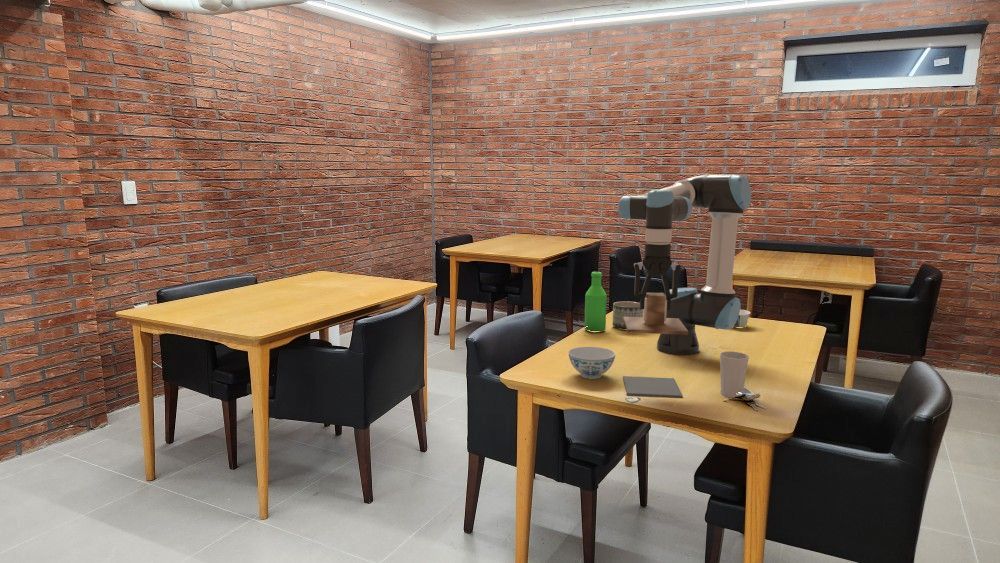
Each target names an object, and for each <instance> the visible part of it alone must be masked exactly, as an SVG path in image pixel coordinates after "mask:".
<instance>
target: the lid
mask: <svg viewBox="0 0 1000 563" xmlns="http://www.w3.org/2000/svg"><path fill="white" fill-rule="evenodd" d="M645 298H647V318H646V321H644V320H643V317H623V320H624V323H625V326H626V329H627V330H626V331H627V333H628V334H656V335H660V334H680V335H688V330H687V329H686V328H685V326H684V325H683V324H682V322H681V321H680V320H679V318H666V321H664V313H665V293H664V292H647V293H646V296H645Z"/></svg>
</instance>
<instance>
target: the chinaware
mask: <svg viewBox="0 0 1000 563" xmlns="http://www.w3.org/2000/svg"><path fill="white" fill-rule="evenodd" d="M615 357H616V352H615V351H614V350H611V349H608V348H605V347H601V346H600V347H599V346H578V347H574V348H571V349H569V350H568V358H569V362H570V364H571V365H572V367H573V368H574V369H575V370H576V371H577V372H578V373H580V376H581V377H582V378H584V379H587V378H588V380H596V379H597V378H598V379H600V378H602V376H603V374H605V373H606V372H608V371H609V370H610V369H611V367H612V365H613V364H614V361H615V359H616V358H615ZM598 379H597V380H598Z"/></svg>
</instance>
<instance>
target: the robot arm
mask: <svg viewBox="0 0 1000 563" xmlns="http://www.w3.org/2000/svg"><path fill="white" fill-rule="evenodd" d="M751 203H752V188H751V185H750V182H749V179H748V178H747V177H746V176H744V175H740V174H739V175H738V174H701V175H696V176H691V177H688V178H685V179H681V180H677V181H675V182H674V183H673V184H672V185H670V186H666V187H663V188H660V189H656V190H655V189H654V190H649V191H648V192H646V193H642V194H638V195H632V194H630V195H623V196H622V197H621V198H620V199H619V201H618V206H617V207H618V214H619V217H621V218H622V219H626V220H629V221H631V220H640V221H641V220H642V221H643V220H644V221H645V235H644V236H645V238H644V241H645V242H646V243H645V244H644V255H643V259H642V261H640V262H634V263H633V267H634V271H635V272H634V273H635V274H634V290H633V294H634V296H635V297H636V298H639V303H640V309H643V320H644V321H646V318H647V298H646V293H648V290H649V286H650V283H651V280H652V277H653V276H654V275H659V276H661V281H662V285H663V289H664V295H665V313H664V321H666V318H679V320H680V321H681V322H682V324H683V325H684V326H685V328H686V329H687V330H688V335H680V334H659V337H658V339H657V340H656V341H657V342H656V348H657V350H658V351H660V352H663V353H667V354H673V355H694V354H697V353H699V350H700V344H699V340H698V337H697V333H696V326H700V327H706V328H712V329H716V330H725V331H726V330H730V329H733V328H732V327H733V326H734V324H735V323H736V321H737V319H738V316H739V313H740V309H741V307H742V306H741V299H740V298H738V297H736V291H735V290H734V289H733V287H732V285H733V276H734V274H733V273H734V264H735V256H736V255H735V254H736V244H737V234H738V233H737V232H738V224H739V223H738V222H739V219H740V218H741V217H742V216H744V210H747V209H749V208H750V206H751ZM693 207H694V208H704V209H706V208H707V210H708V212H707V213H708V215H710V217H711V225H710V226H711V227H710V228H711V229H710V237H709V239H710V240H709V248H708V259H707V271H706V281H705V285H704V286H703V287H702V288H701V289H700V293H699V290H698V288H696V287H679V273H680V271H681V270H680V269H681V265H680V264H679V263H675V262H673V261H672V259H671V255H672V253H671V252H672V251H671V250H672V245H671V244H670V243H671V242H672V237H673V236H672V234H673V233H672V232H673V222H682V221H685V220H687V219H689V218H690V216H692V213H693ZM643 267H644V268H645V270H646V271H647V272H646V276H645V278H644V282H643V285H642V287H641V291H640V284H641V283H640V282H641V270H642V269H643ZM670 268H671V270H672V282H671V283H672V287H671V289H670V286H669V281H668V276H667V271H668V270H669V269H670Z"/></svg>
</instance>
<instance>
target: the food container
mask: <svg viewBox="0 0 1000 563" xmlns="http://www.w3.org/2000/svg"><path fill="white" fill-rule="evenodd" d="M750 315H751V312H750V311H749V310H746V309H741V308H740V313H739V316H738V319H737V321H736V323H735V324H734V326H733V327H745V326H746V327H747V325H748V322H749V317H750Z"/></svg>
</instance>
